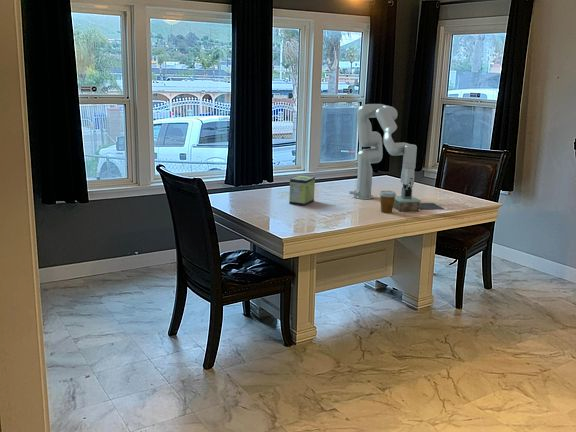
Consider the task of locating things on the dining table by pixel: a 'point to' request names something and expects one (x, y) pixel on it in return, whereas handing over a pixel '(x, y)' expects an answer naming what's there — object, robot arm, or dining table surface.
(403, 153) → the robot arm
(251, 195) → the dining table surface
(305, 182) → the protein box
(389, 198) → the disposable coffee cup
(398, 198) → the lid
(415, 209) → the storage box
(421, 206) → the rubber mat
